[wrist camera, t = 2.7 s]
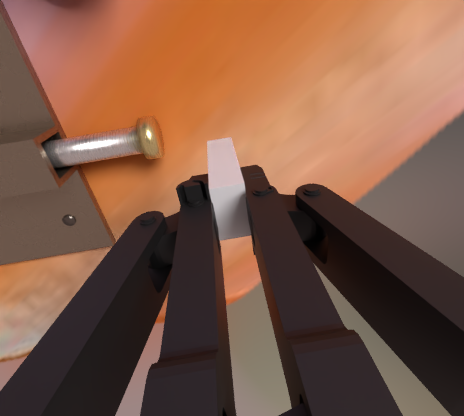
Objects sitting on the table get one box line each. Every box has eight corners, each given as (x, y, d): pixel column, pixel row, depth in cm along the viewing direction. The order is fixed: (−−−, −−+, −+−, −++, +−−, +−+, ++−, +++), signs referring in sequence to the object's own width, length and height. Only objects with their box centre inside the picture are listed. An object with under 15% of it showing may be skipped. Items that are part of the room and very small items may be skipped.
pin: (-20, 180, 25) (-49, 198, 22) (-45, 144, 23) (-80, 159, 20) (166, 149, 25) (161, 163, 22) (155, 111, 23) (149, 121, 20)
